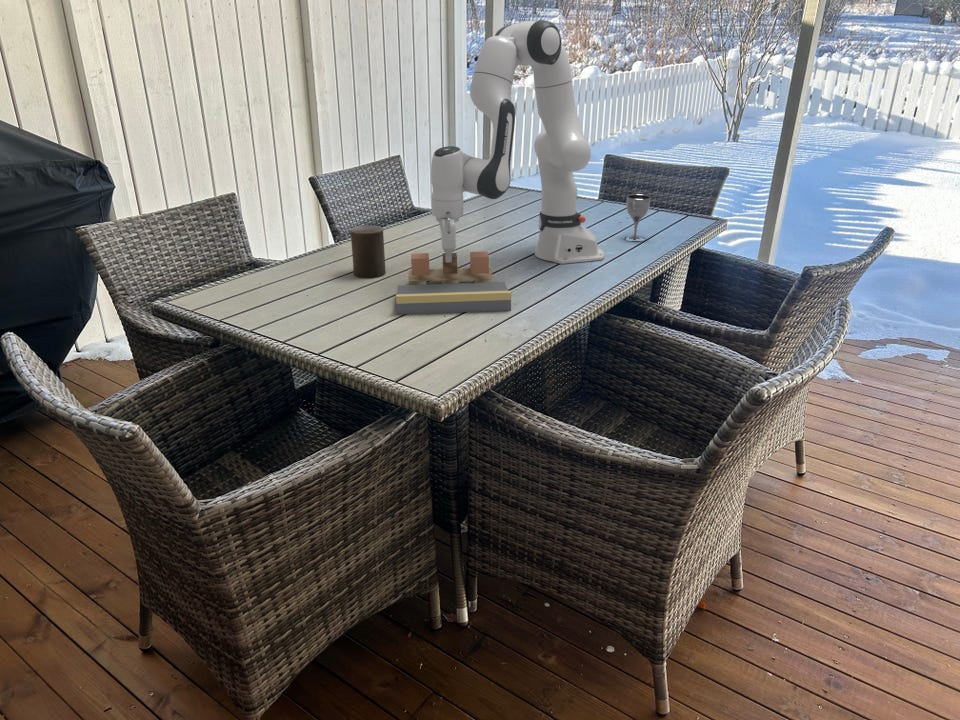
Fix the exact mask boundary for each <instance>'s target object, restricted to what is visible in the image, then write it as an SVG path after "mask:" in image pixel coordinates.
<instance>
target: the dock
mask: <svg viewBox="0 0 960 720" xmlns="http://www.w3.org/2000/svg"><path fill="white" fill-rule="evenodd" d="M395 303H396V304H395V306H396V315H420V314H445V313H446V314H447V313H449V314H451V313H452V314H453V313H472V312H473V313H474V312H475V313H476V312H477V313H478V312H503V311H505V312H506V310H507V311H512V291H511V290H508V287H507V285H506V282H505V281H498V282H497V281H492V282H488V283H474V282H465V283H464V282H462V283H457V284H442V283H438V284H437V283H434V284H433V283H432V284H431V283H430V284H427V283H426V285H409V284H401V285H397V288H396V294H395Z"/></svg>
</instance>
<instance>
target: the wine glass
mask: <svg viewBox="0 0 960 720" xmlns="http://www.w3.org/2000/svg"><path fill="white" fill-rule="evenodd" d="M651 199H652V198H651V196H650V195H648V194H644V193H643V194H642V193H641V194H640V193H633V194H628V195H626V210H627V211H626V212H627V214H628V215H629V217H630V218H631V220H632V222H633V227H634V228H633V229H634V230H633V231H634V232H633V235H631V237H629V236H628V237H629V239H633V240H636V239H640V237H641V236H637V231H638V225H639V223H640V222H641V220H642V219H643V218H644V217H645V216H646V215H647V214H648V211H649V209H650V204H651Z"/></svg>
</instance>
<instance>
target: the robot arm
mask: <svg viewBox="0 0 960 720" xmlns="http://www.w3.org/2000/svg"><path fill="white" fill-rule="evenodd" d="M562 42H563V41H562V36H561V33H560V31H559V28H558V27H557V25H556V24H554V23H553V22H551V21H549V20H543V19H540V20H527V21H526V20H524V21H521V22H517V23H515V24H507V25H505V26H503V27H501V28H499V29H498V31H496V33H495V34H494V35H493V36H490V37H488V38H487V39H486V40H484V43H483V45H482V47H481V49H480V52H479V55H478V57H477V60H476V63H475V67H474V71H473V74H472V78H471V83H470V88H469V95H470V99H471V102H472V103H473V105H474V106H475V107H476V108H477V110H478V111H480V112H481V113H482V114H484V115H486V116H487V118H489V119H490V121H491V123H492V128H493V129H492V138H491V139H492V140H491V149H490V156H489V158H488V159H484V158H478V157H476V156H471V155H468V154H466V153H465V152H463V151H462V150H461V148H460V147H459V146H454V145H450V146H448V145H447V146H442V147H438V149H437V148H436V150H435V151H434V152H433V154H432V158H431V164H430V182H431V186H432V193H431V197H430V198H431V215H432V217H435V220H436V222H438V223H439V230H440V237H441V239H440V240H441V247H442V250H443V251H444V253H445V261H446V262H452V253H453V251H455V250H456V247H457V246H456V244H457V242H456V241H457V240H456V239H457V231H456V230H457V229H456V223H458V222H459V221H460V217H462V216H464V192H466V193H469V194H472V195H474V194H475V195H478V196H481V197H484V198H486V199H490V200H497V199H499V198H501V197H502V196H503V195H504V194H505V193H506V192H507V191H508V189H509V187H510V185H511V176H512V175H511V174H512V173H511V160H512V152H513V143H514V135H515V123H516V122H515V121H516V107H515V105H514V103H513V102H512V87H513V82H514V80H515V74H516V69H517V68H518V66H521V67H522V66H524V67H526V66H530V68H531V69H532V72H533V73H532V74H533V83H534V85H533V86H534V91H535V100H536V105H537V113H538V116H539V118H540V120H541V122H542V125H543V128H544V130H542V131H540V132H539V134H538V135H537V136H536V138H535V140H534V143H533V144H534V145H533V147H534V152H535V154H536V159H537V164H538V169H539V176H540V183H541V202H540V203H541V204H540V205H541V206H540V207H541V210H540V211H539V217H538V228H539V229H538V230H539V234H538V240H537V245H536V249H535V252H534V256H535V257H536V258H538V259H541V260H544V261H547V262H552V263H553V262H554V263H557V264H561V265H562V264H563V265H564V264H572V263H574V264H575V263H584V262H594V261H602V260H604V258H605V253H604V251H603V250H602V249H601V248H600V247H598V240H597V238H596V236H595V235H594V233H593V232H591V230H589V229H588V228H587V227H585V226H584V225H583V223H585V222H586V220H587V219H586V217H585V216H584V215H582V214H581V213H579V212H578V211H577V200H578V187H577V186H578V185H577V183H576V181H575V177H574V173H573V172H579V171H581V170H583V169H585V168H586V166H587V165H588V163H589V162H590V160H591V157H592V156H591V155H592V152H591V150H592V149H591V147H590V144H589V143H588V141H587V139H586V138H585V135H584V132H583V128H582V125H581V122H580V119H579V115H578V112H577V107H576V101H575V93H574V87H573V85H574V84H573V78H572V77H573V76H572V75H573V74H572V70H571V66H570V61H569V56H568V53H567V50H566V48H565V46H564V45H563V44H562Z"/></svg>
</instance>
